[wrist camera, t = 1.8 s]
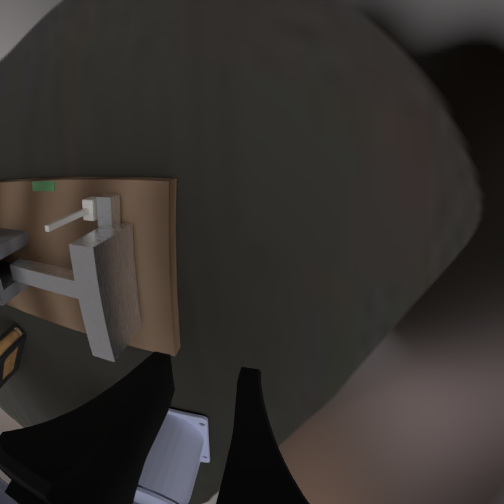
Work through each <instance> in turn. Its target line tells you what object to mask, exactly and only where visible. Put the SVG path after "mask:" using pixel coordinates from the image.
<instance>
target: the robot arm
mask: <svg viewBox="0 0 504 504" xmlns="http://www.w3.org/2000/svg"><path fill="white" fill-rule="evenodd" d="M174 391H175V388H174V381H173V374H172V366H171V357H170V354H165V353H161V352H156V351H155V352H154V353H152V354H151V355H150V356H149V357H148V358H146V359H145V360H144V361H143V362H142V363H141V364H139V365H138V366H137V367H136V368H135V369H133V370H132V371H131V372H130V373H128V374H127V375H126V376H125V377H123V378H122V379H121V380H120V381H118V382H117V383H116V384H114V385H113V386H112V387H110V388H109V389H107V390H106V391H104V392H103V393H101V394H100V395H99V396H97V397H96V398H94V399H92V400H91V401H89V402H87V403H86V404H84V405H82V406H80V407H78V408H77V409H75V410H73V411H70V412H68V413H66V414H64V415H62V416H59V417H57V418H55V419H52V420H49V421H46V422H44V423H41V424H37V425H34V426H30V427H26V428H22V429H17V430H12V431H6V432H2V434H1V435H0V469H1V470H2V471H3V472H4V473H5V474H6V475H7V476H8V477H9V478H10V479H11V482H10V483H9V485H8V484H7V483H6V482H5V481H3V480H2V479H1V478H0V504H188V502H189V500H190V497H191V494H192V490H193V487H194V483H195V479H196V476H197V472H198V468H199V465H200V461H201V462H206V463H208V462H210V449H209V431H208V419H207V418H206V417H205V416H202V415H197V414H192V413H187V412H183V411H178V410H174V409H170V408H169V407H170V404H171V401H172V397H173V394H174ZM216 504H309V503H308V501H307V500H306V498H305V497H304V496H303V494H302V492H301V490H300V489H299V487H298V485H297V484H296V482H295V480H294V479H293V477H292V475H291V473H290V472H289V469H288V467H287V466H286V464H285V462H284V459H283V457H282V455H281V453H280V451H279V448H278V446H277V443H276V440H275V438H274V435H273V432H272V429H271V426H270V423H269V420H268V416H267V412H266V408H265V404H264V400H263V394H262V387H261V371H260V370H259V369H252V368H245V367H241V370H240V374H239V378H238V382H237V394H236V405H235V417H234V428H233V435H232V440H231V445H230V449H229V454H228V458H227V462H226V466H225V471H224V475H223V479H222V483H221V487H220V491H219V495H218V498H217V502H216Z"/></svg>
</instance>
